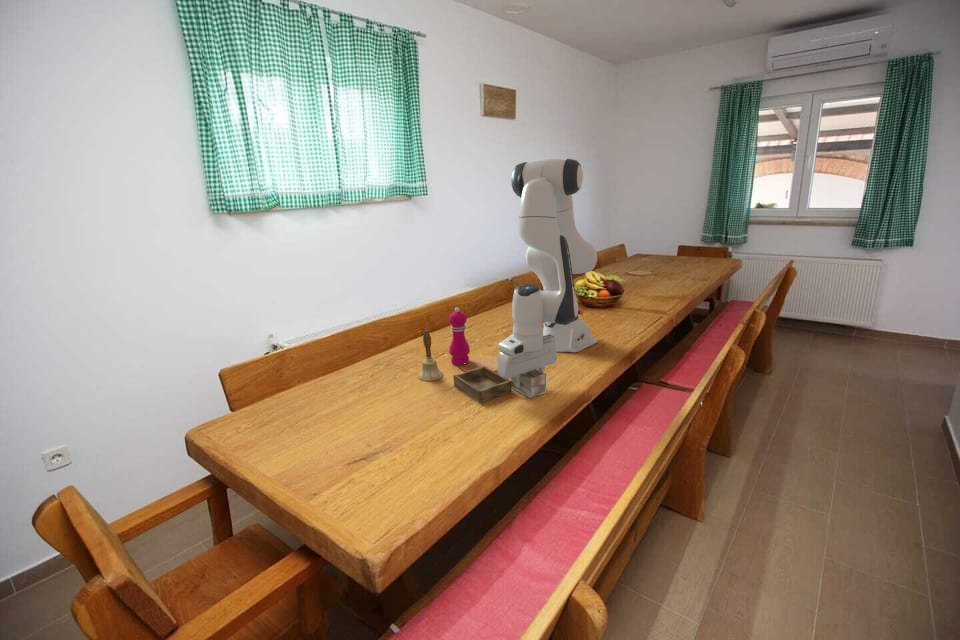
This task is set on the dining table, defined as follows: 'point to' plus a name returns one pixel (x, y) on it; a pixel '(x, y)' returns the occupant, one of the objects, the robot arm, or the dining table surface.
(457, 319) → the pepper mill
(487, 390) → the big crate
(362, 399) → the dining table surface
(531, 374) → the small crate
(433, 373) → the hand bell
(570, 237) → the robot arm
